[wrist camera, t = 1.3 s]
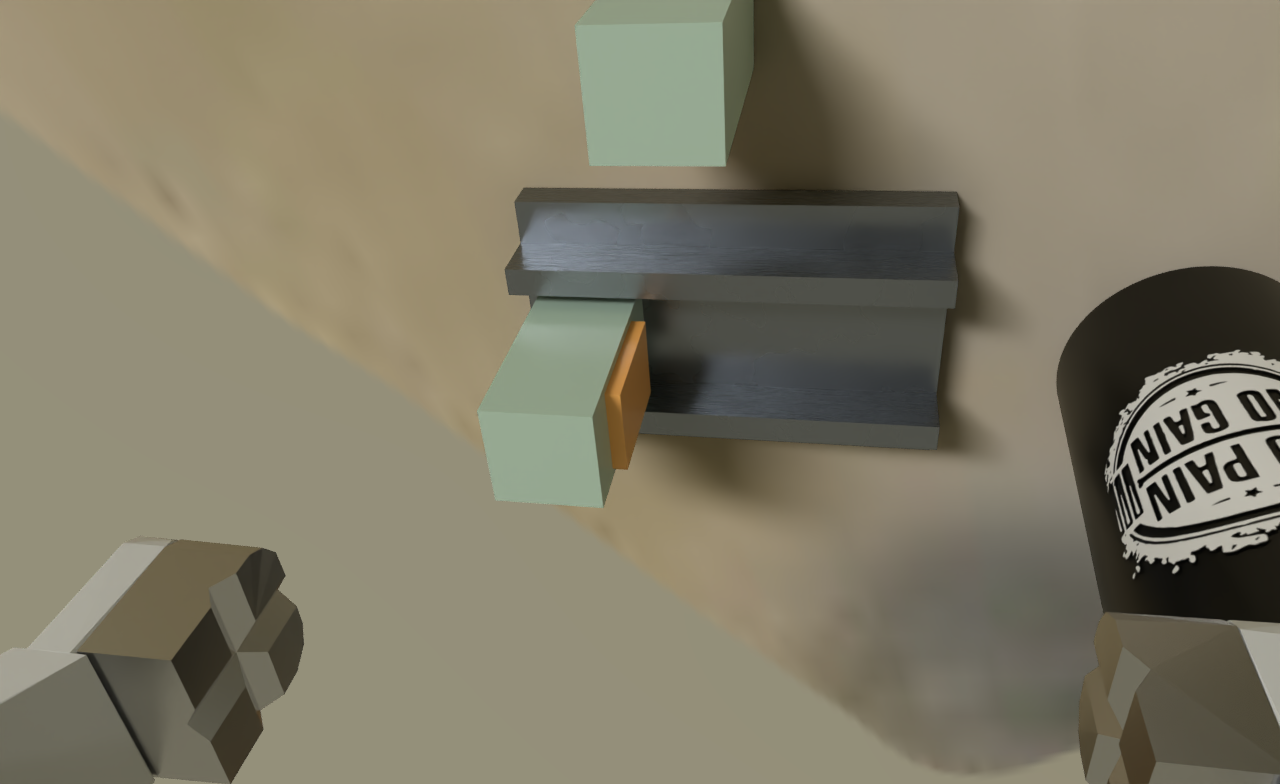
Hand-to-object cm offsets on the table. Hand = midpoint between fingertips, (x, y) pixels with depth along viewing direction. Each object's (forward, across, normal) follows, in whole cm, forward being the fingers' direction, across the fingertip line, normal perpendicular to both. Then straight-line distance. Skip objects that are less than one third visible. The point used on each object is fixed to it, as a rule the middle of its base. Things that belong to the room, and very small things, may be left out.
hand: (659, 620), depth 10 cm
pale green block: (+26, +3, 0) cm, 26 cm away
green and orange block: (+25, +7, +11) cm, 28 cm away
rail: (+26, +2, +11) cm, 28 cm away
